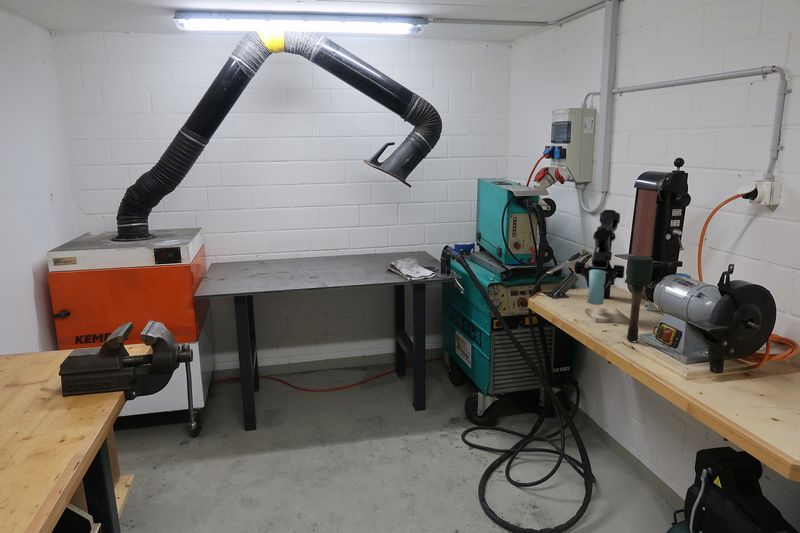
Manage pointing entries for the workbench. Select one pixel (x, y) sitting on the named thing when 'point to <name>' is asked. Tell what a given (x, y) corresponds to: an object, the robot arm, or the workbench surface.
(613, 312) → the board
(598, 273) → the canister
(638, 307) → the stick grenade
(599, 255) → the robot arm
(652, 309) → the pneumatic valve
